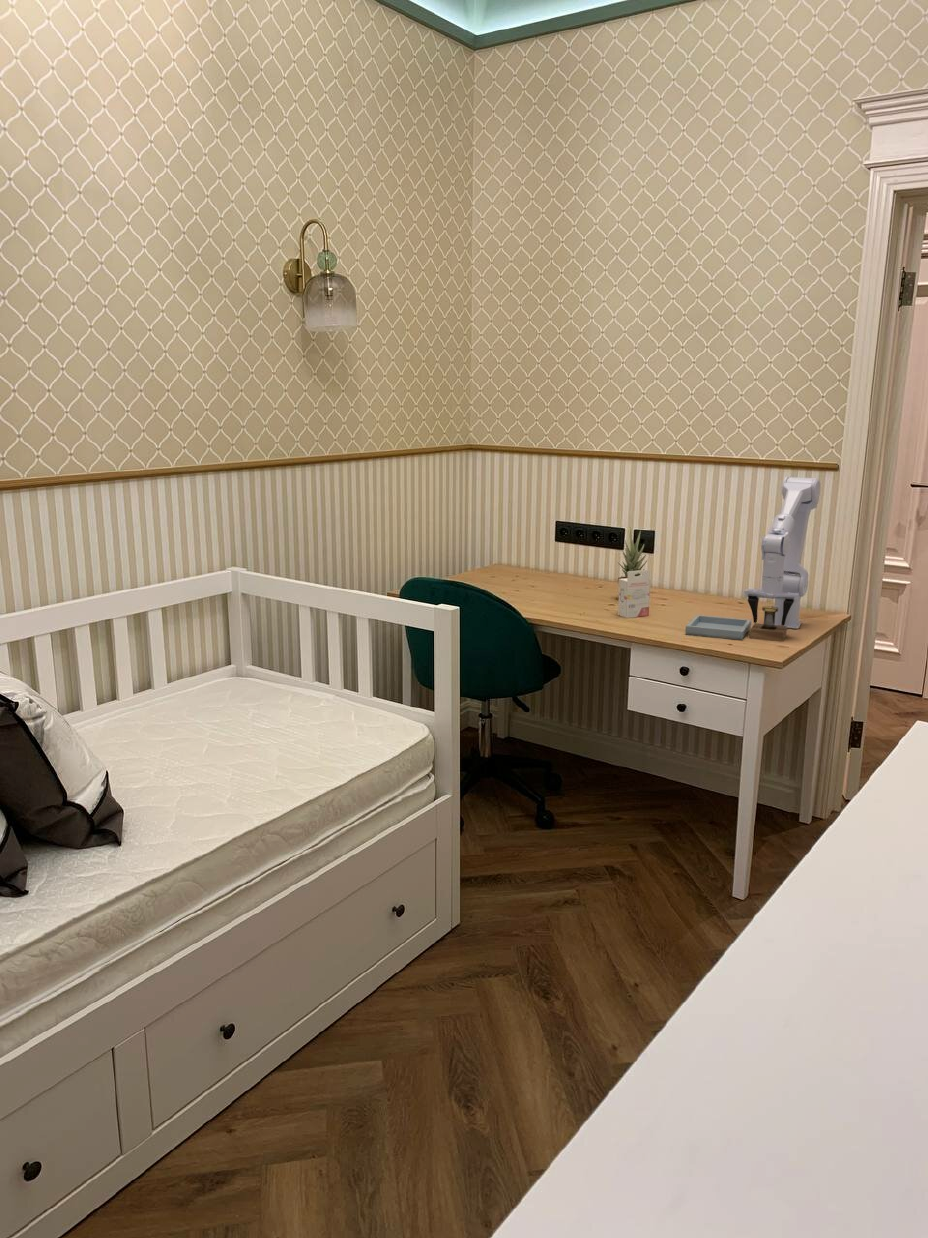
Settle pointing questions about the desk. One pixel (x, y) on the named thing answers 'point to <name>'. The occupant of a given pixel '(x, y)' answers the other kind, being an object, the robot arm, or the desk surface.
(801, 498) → the robot arm
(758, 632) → the brown square socket base
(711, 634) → the tray
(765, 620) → the lock pin
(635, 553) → the potted plant
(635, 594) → the ink cartridge box
